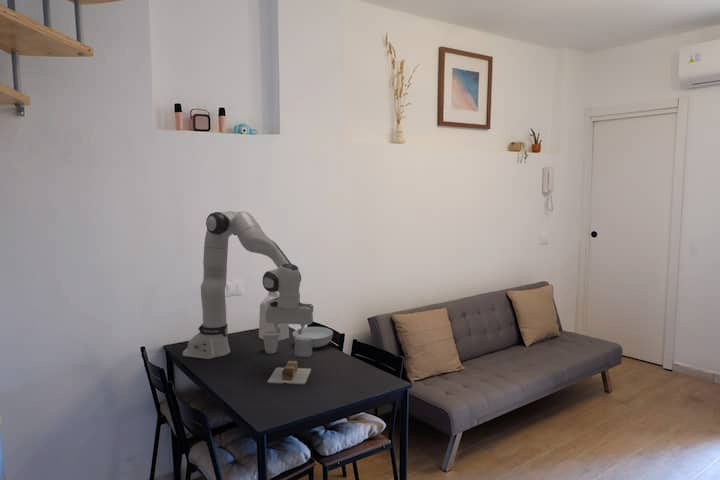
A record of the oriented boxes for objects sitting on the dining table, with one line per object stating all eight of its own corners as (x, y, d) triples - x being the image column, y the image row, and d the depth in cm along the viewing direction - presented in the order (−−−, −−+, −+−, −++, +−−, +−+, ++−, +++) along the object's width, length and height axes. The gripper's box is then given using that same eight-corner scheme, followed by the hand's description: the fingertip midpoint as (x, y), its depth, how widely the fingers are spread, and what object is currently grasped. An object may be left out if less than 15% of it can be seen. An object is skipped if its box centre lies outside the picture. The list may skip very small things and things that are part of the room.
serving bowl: (306, 336, 269) (306, 324, 268) (340, 342, 260) (340, 329, 259) (284, 347, 251) (284, 334, 250) (319, 354, 241) (319, 341, 241)
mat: (267, 382, 207) (267, 381, 206) (276, 368, 222) (276, 367, 222) (304, 384, 205) (304, 382, 205) (311, 369, 221) (311, 368, 221)
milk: (289, 337, 267) (289, 290, 264) (272, 342, 259) (271, 294, 256) (275, 332, 275) (275, 287, 272) (258, 337, 267) (258, 290, 264)
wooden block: (288, 369, 220) (288, 360, 219) (297, 369, 220) (297, 361, 219) (282, 380, 208) (282, 371, 208) (291, 380, 208) (291, 371, 207)
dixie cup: (271, 355, 239) (271, 335, 238) (259, 352, 243) (258, 332, 242) (283, 350, 246) (282, 331, 245) (270, 347, 250) (270, 328, 249)
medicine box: (312, 354, 241) (312, 337, 240) (310, 357, 237) (310, 340, 236) (296, 353, 242) (296, 336, 241) (294, 356, 238) (294, 339, 237)
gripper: (314, 301, 212) (314, 332, 214) (268, 299, 214) (268, 330, 215) (312, 304, 206) (311, 336, 208) (264, 302, 208) (264, 334, 209)
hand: (289, 333), depth 212 cm, fingers open, 8 cm apart
